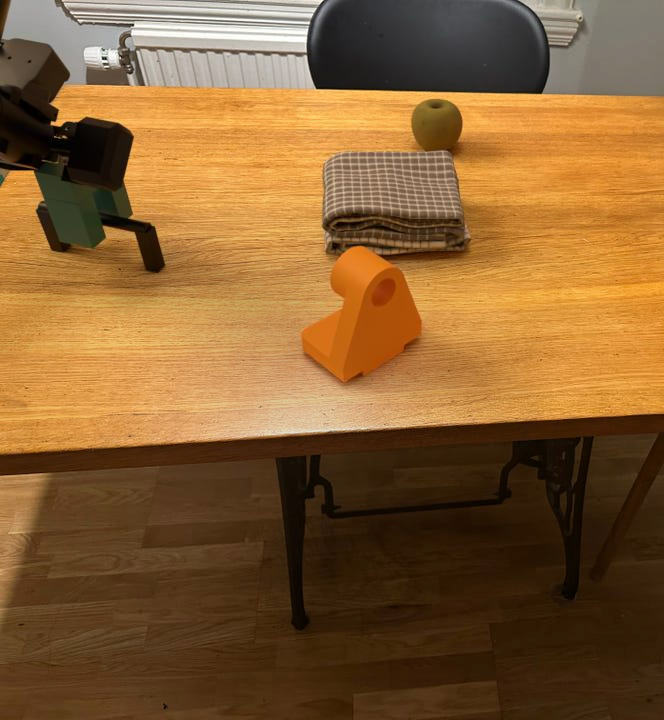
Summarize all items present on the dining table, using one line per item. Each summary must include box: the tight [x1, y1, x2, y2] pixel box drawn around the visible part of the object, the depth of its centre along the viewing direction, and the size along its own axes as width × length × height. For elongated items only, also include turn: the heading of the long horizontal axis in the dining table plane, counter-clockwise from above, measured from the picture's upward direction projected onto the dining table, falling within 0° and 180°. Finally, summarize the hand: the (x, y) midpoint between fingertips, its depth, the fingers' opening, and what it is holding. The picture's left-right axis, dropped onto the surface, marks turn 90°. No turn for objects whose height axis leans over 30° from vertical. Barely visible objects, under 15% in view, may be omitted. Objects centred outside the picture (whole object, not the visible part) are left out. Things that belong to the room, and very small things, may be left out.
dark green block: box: [33, 158, 134, 249], centre depth 76 cm, size 8×4×8 cm, turn 168°
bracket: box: [300, 246, 423, 383], centre depth 70 cm, size 11×7×12 cm, turn 138°
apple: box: [410, 98, 464, 152], centre depth 106 cm, size 8×8×7 cm
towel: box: [321, 150, 472, 257], centre depth 89 cm, size 15×18×8 cm
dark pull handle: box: [35, 200, 166, 274], centre depth 79 cm, size 2×14×6 cm, turn 78°
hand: (88, 169), depth 75 cm, fingers closed on dark green block, 4 cm apart
